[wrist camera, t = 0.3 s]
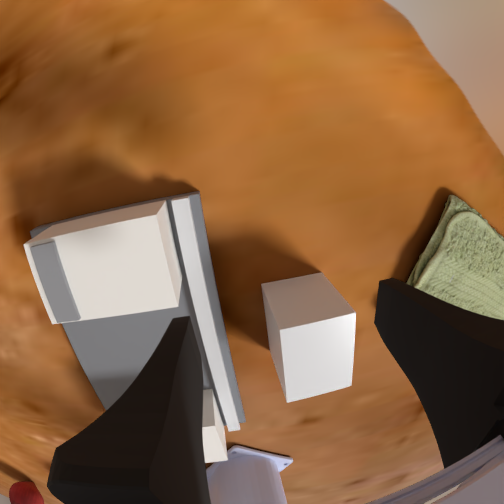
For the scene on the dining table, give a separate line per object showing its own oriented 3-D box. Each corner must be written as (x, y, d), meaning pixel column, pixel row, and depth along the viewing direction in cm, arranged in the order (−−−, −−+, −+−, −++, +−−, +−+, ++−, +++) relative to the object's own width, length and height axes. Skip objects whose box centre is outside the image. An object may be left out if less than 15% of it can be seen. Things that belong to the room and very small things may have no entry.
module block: (323, 338, 25) (351, 385, 19) (269, 350, 25) (287, 402, 19) (321, 272, 23) (355, 312, 17) (260, 283, 22) (279, 330, 17)
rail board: (244, 412, 27) (252, 459, 21) (122, 425, 26) (115, 469, 20) (199, 190, 20) (197, 208, 15) (37, 226, 19) (-4, 252, 13)
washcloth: (440, 185, 22) (466, 192, 19) (520, 255, 27) (539, 265, 24) (371, 322, 26) (388, 342, 23) (469, 350, 30) (484, 365, 27)
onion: (15, 479, 29) (4, 515, 21) (15, 467, 27) (2, 506, 20) (46, 495, 30) (38, 531, 23) (49, 484, 29) (39, 525, 22)
